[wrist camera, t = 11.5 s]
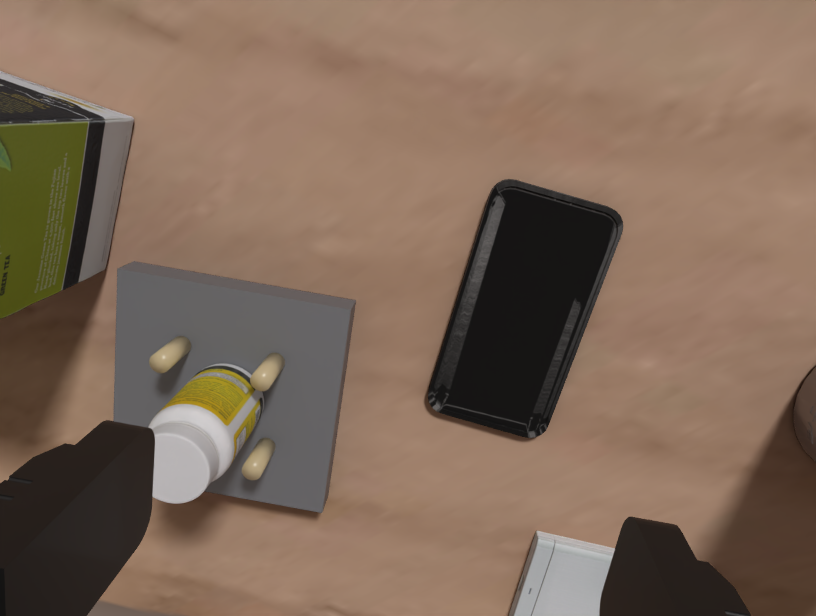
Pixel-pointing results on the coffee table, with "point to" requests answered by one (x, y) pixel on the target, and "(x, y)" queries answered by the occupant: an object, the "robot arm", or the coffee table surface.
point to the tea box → (55, 189)
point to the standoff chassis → (246, 348)
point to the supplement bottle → (203, 431)
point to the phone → (523, 307)
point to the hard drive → (562, 577)
